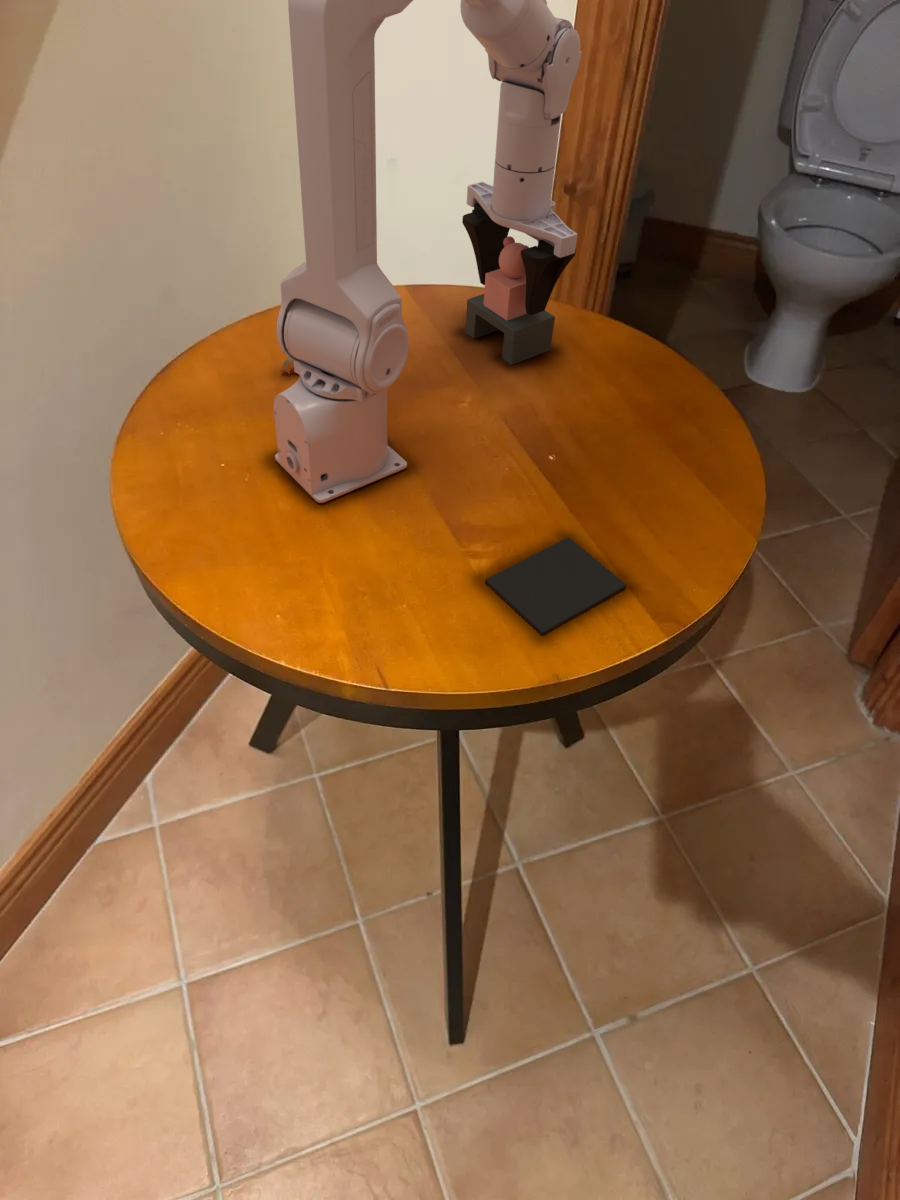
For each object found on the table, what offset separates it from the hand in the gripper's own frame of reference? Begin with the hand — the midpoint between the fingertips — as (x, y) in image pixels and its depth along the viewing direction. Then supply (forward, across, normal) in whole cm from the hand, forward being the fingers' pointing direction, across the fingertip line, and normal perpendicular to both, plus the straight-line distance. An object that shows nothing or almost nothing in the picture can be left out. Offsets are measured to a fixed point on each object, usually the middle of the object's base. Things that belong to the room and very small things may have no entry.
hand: (512, 296), depth 95 cm
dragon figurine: (+5, +6, +20) cm, 21 cm away
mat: (+5, -32, +21) cm, 38 cm away
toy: (+1, 0, 0) cm, 1 cm away
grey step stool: (+5, 0, 0) cm, 5 cm away
